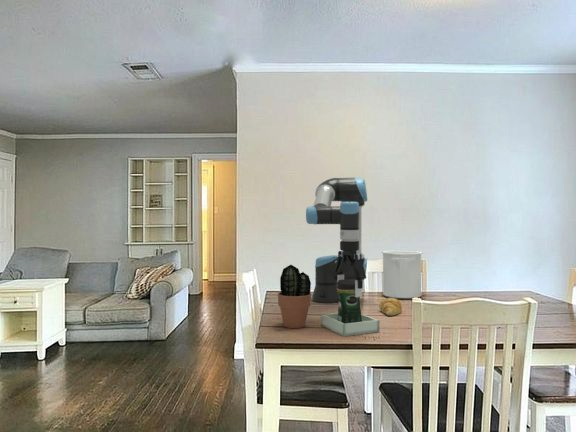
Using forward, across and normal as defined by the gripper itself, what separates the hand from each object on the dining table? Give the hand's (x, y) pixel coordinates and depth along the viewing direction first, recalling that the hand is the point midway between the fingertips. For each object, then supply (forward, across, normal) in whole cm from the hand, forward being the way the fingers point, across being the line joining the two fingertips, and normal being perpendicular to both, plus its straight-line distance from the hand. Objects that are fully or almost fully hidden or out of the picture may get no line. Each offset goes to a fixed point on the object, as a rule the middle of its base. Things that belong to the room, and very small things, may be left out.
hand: (349, 293), depth 187 cm
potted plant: (+14, -13, -18) cm, 27 cm away
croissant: (+15, -18, +33) cm, 41 cm away
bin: (+14, 0, 0) cm, 14 cm away
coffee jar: (+13, 0, 0) cm, 13 cm away
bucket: (+16, -48, +63) cm, 81 cm away
